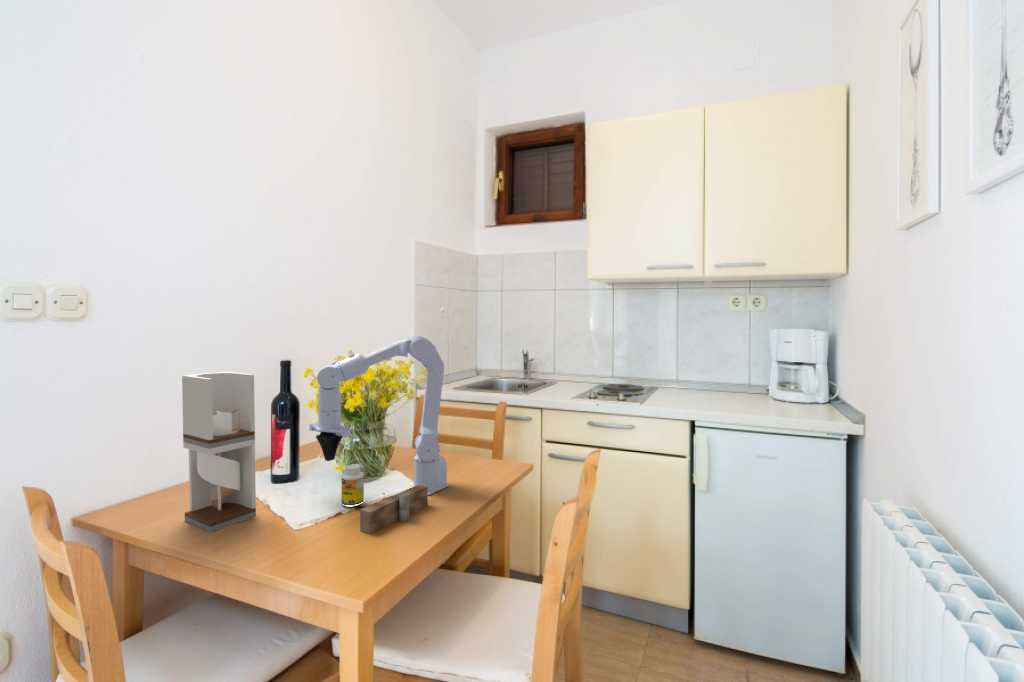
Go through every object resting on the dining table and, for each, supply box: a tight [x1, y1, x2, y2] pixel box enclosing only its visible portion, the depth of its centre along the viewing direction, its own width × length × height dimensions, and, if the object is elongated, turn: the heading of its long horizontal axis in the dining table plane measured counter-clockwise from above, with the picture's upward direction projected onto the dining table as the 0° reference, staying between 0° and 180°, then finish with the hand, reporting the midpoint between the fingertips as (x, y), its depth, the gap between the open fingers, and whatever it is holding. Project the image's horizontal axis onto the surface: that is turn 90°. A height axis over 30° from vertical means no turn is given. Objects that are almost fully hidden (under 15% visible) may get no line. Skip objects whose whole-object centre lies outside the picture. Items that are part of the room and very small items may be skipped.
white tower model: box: [181, 371, 257, 533], centre depth 115 cm, size 11×11×35 cm
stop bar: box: [359, 484, 429, 535], centre depth 117 cm, size 20×5×6 cm, turn 149°
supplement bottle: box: [341, 463, 365, 505], centre depth 125 cm, size 6×6×10 cm
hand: (329, 459), depth 130 cm, fingers closed
